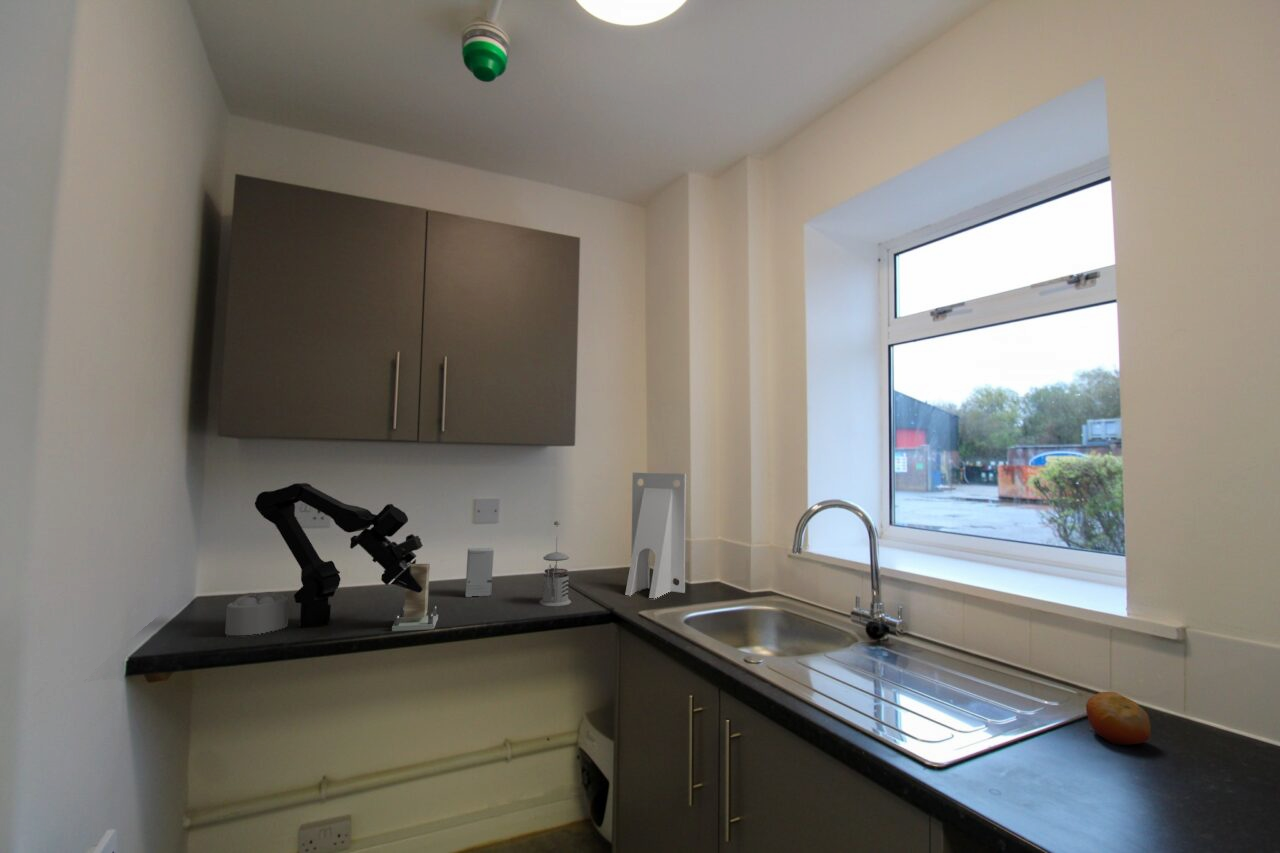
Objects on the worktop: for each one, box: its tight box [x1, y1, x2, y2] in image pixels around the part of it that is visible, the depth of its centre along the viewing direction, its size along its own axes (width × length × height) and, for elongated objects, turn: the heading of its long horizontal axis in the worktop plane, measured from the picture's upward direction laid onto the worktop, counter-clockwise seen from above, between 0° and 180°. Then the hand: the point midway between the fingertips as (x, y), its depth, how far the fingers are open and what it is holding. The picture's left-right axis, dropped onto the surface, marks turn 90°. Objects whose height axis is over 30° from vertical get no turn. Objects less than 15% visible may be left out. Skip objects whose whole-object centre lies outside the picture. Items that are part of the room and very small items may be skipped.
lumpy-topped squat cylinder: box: [224, 591, 290, 636], centre depth 147 cm, size 10×13×9 cm
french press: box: [539, 520, 572, 607], centre depth 179 cm, size 10×12×25 cm
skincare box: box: [464, 547, 495, 598], centre depth 188 cm, size 8×6×15 cm
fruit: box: [1085, 691, 1152, 746], centre depth 93 cm, size 8×8×8 cm
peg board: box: [391, 604, 439, 632], centre depth 153 cm, size 10×10×4 cm
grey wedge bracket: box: [624, 472, 687, 600], centre depth 194 cm, size 20×14×40 cm
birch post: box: [404, 563, 431, 618], centre depth 153 cm, size 5×5×13 cm
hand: (422, 589), depth 153 cm, fingers closed on birch post, 5 cm apart
